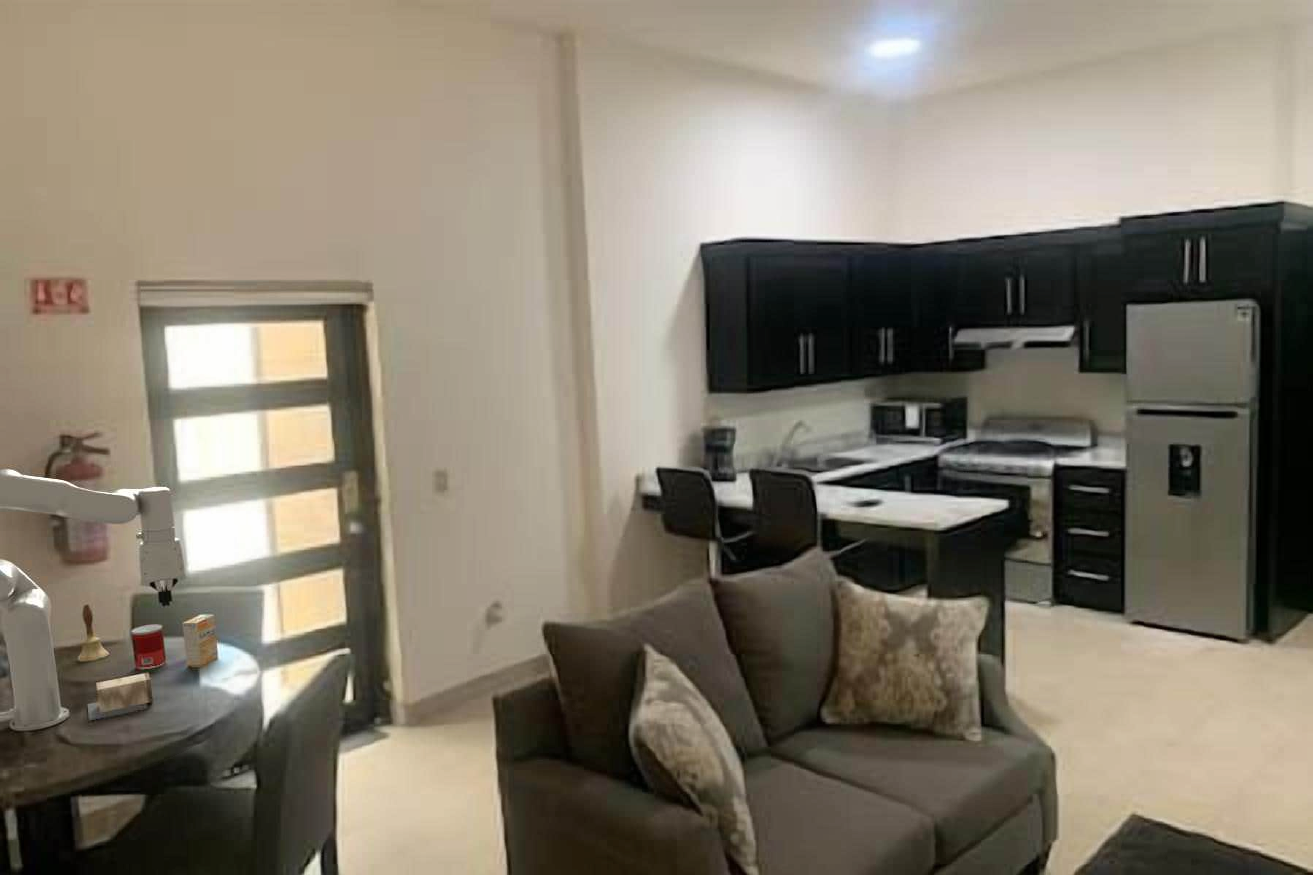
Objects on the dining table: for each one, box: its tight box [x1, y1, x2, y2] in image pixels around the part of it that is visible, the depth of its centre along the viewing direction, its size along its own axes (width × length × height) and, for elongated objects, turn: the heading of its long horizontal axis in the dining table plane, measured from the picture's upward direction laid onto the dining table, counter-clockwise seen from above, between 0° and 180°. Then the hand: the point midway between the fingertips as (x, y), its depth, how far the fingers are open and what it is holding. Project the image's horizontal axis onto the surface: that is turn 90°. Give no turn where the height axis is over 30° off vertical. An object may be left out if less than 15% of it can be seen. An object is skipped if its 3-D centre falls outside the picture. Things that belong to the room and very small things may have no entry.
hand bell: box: [76, 603, 110, 663], centre depth 302 cm, size 8×8×16 cm
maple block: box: [96, 672, 154, 713], centre depth 262 cm, size 6×6×12 cm
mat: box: [87, 701, 148, 722], centre depth 261 cm, size 13×12×1 cm
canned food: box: [130, 623, 167, 668], centre depth 292 cm, size 8×8×11 cm
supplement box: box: [182, 614, 219, 668], centre depth 292 cm, size 8×5×13 cm, turn 168°
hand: (165, 604), depth 265 cm, fingers closed
